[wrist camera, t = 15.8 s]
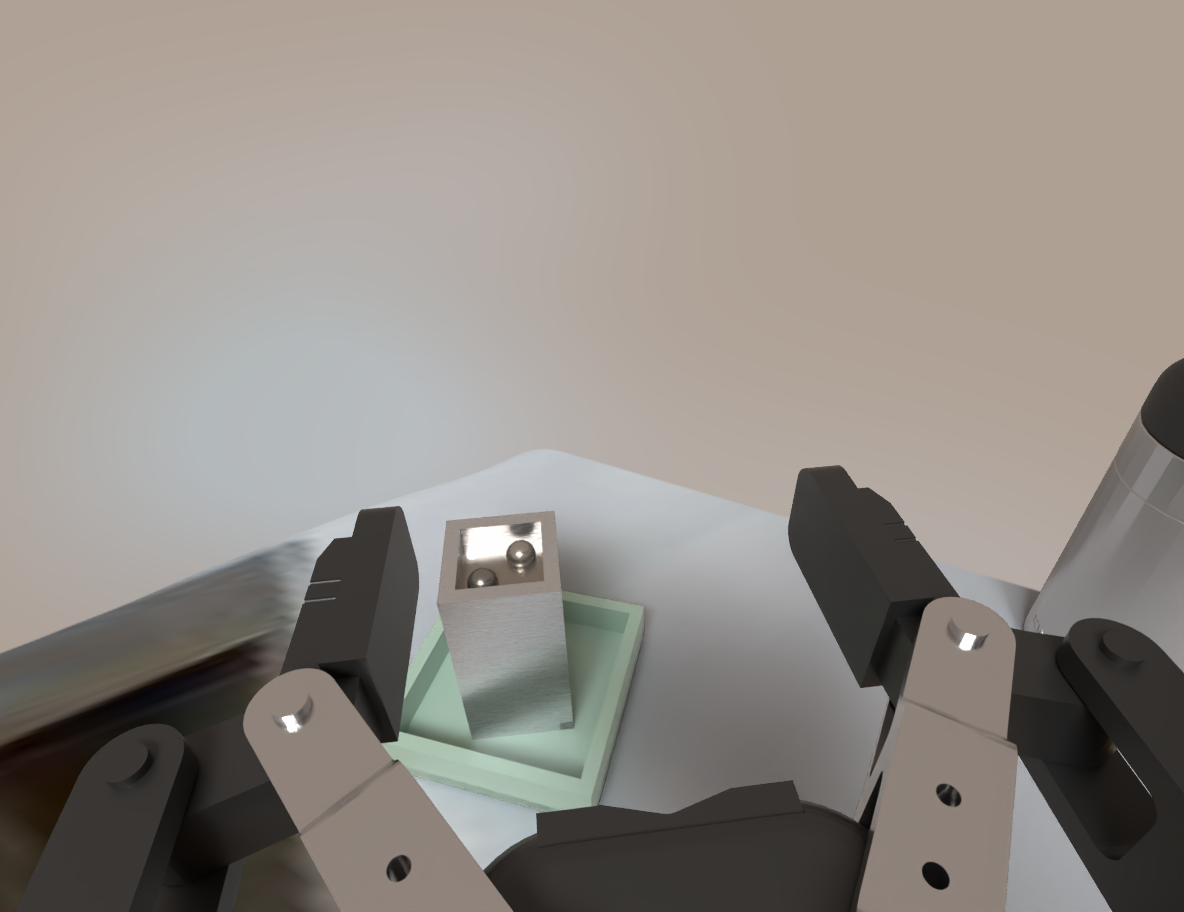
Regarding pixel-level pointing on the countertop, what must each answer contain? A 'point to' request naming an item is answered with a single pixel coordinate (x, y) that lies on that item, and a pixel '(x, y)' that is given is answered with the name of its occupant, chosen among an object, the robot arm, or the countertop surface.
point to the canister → (506, 623)
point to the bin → (537, 760)
